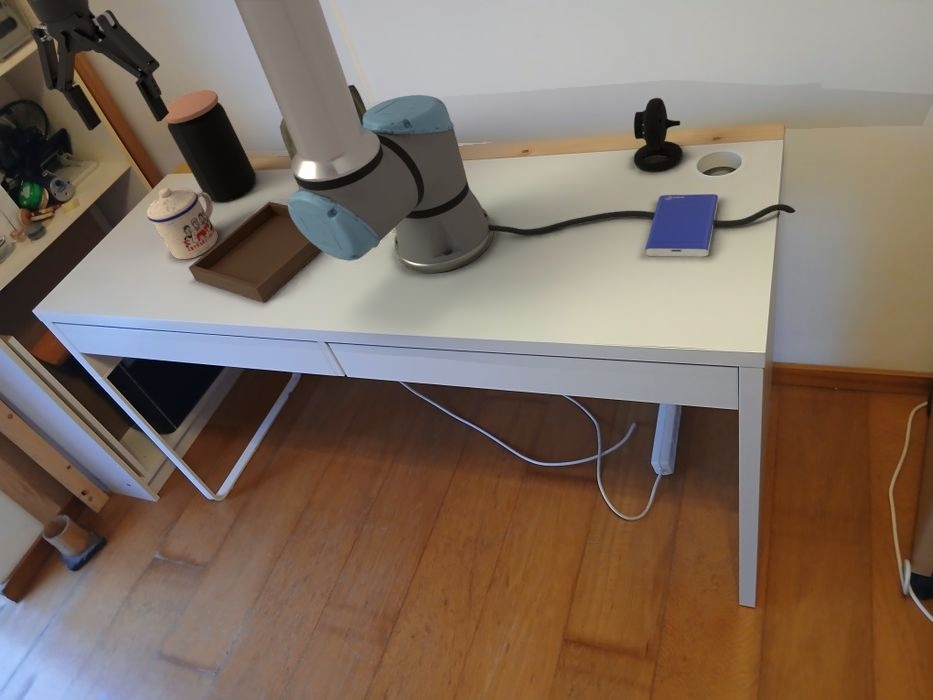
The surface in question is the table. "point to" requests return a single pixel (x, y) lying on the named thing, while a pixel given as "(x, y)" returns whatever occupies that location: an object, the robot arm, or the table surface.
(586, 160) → the table surface
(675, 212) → the hard drive
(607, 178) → the table surface
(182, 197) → the teacup with lid
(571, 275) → the table surface
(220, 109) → the coffee jar
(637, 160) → the webcam
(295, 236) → the tray
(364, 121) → the robot arm
